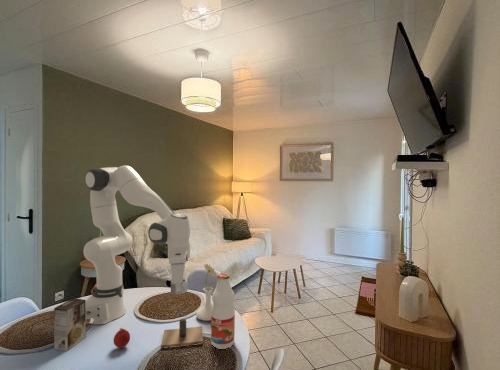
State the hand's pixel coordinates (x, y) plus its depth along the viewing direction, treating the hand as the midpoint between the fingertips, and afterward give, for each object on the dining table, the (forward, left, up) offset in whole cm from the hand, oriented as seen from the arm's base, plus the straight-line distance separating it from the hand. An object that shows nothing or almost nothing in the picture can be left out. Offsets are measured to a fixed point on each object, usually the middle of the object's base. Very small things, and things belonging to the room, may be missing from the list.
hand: (179, 286), depth 109 cm
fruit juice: (+18, -6, -22) cm, 29 cm away
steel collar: (0, 0, -2) cm, 2 cm away
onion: (-21, -2, -22) cm, 31 cm away
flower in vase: (+13, +17, -22) cm, 31 cm away
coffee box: (-42, +5, -22) cm, 48 cm away
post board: (+2, 0, -22) cm, 22 cm away
